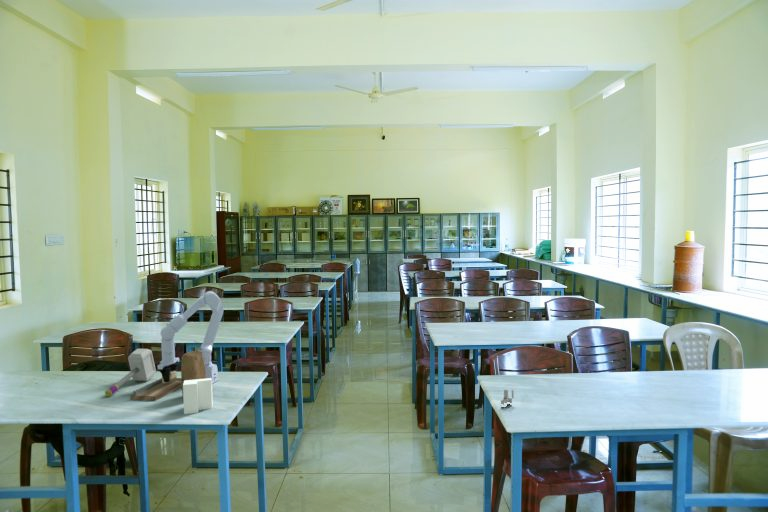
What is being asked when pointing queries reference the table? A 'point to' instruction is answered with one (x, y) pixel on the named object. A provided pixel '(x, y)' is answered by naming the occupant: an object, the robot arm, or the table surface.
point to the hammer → (137, 369)
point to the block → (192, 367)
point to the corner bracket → (197, 395)
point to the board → (155, 390)
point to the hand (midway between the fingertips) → (169, 380)
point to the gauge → (172, 378)
